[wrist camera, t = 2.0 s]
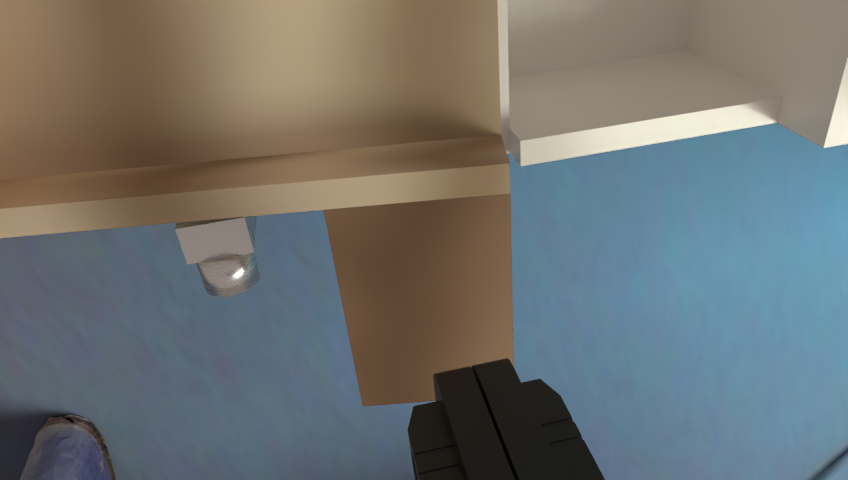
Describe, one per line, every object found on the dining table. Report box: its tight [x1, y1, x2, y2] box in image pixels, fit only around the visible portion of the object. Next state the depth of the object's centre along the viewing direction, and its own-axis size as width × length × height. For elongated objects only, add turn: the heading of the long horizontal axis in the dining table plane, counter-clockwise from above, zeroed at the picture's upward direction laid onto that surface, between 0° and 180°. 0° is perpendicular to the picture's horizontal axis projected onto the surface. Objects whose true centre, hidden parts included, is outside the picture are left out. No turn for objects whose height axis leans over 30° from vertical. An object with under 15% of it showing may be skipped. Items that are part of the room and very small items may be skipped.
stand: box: [175, 216, 260, 297], centre depth 16 cm, size 6×12×9 cm, turn 5°
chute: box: [0, 0, 514, 406], centre depth 16 cm, size 15×13×4 cm
